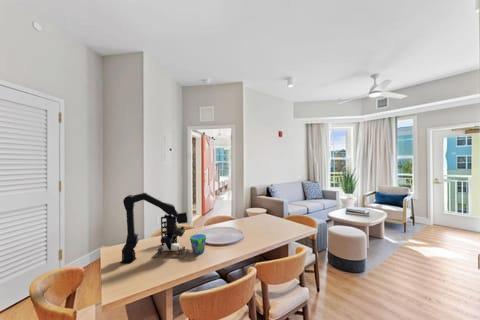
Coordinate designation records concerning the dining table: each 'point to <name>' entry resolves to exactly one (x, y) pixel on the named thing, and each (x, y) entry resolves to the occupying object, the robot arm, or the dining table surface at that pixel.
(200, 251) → the snack cup
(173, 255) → the cradle
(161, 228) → the holder
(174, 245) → the roll
